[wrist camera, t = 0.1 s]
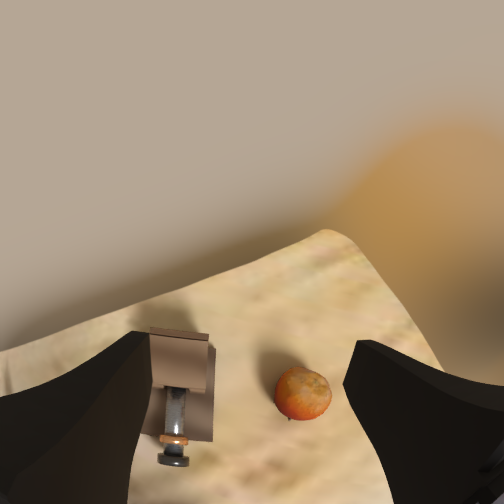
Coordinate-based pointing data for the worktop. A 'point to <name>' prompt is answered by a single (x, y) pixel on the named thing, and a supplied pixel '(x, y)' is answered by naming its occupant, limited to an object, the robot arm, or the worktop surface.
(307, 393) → the fruit
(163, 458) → the shaft
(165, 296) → the worktop surface
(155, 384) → the bearing housing
